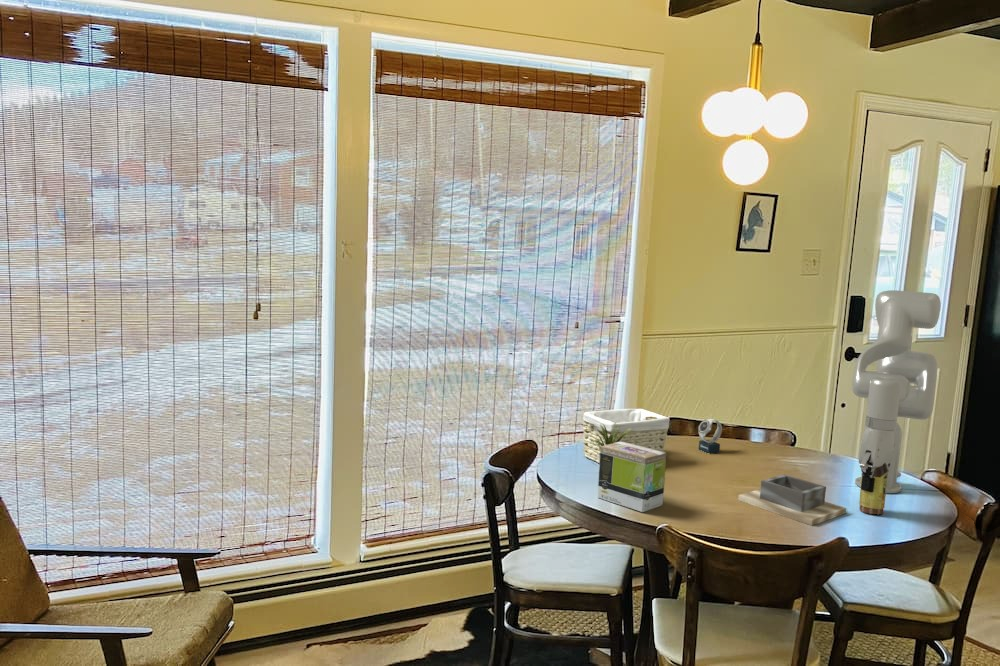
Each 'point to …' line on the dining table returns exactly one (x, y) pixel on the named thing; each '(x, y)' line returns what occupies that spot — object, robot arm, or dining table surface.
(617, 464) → the tea box
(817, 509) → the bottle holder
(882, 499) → the sauce bottle
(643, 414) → the storage basket
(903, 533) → the dining table surface
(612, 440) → the house plant
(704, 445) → the watch
